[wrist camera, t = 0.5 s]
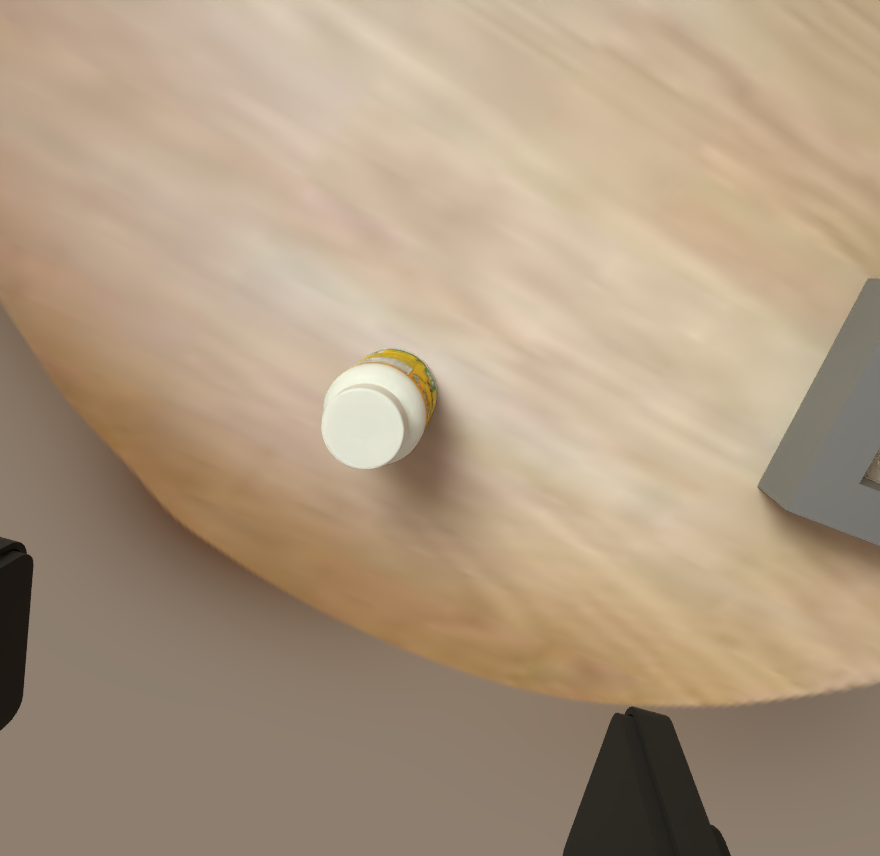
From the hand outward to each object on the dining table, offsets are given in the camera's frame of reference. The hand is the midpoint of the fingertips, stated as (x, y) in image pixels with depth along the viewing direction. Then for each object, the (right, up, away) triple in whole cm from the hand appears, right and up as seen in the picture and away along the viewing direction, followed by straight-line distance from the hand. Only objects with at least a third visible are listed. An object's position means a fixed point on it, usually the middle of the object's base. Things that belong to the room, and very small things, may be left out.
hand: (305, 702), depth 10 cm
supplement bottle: (-1, +6, +30) cm, 30 cm away
